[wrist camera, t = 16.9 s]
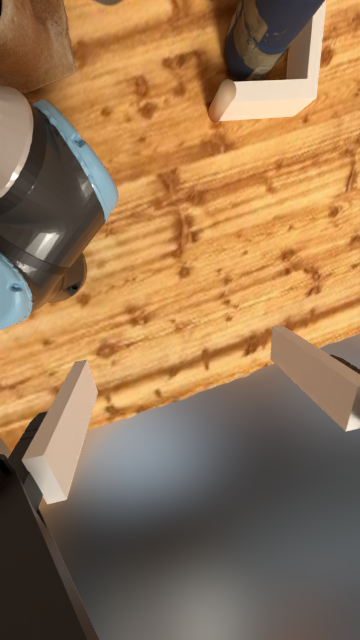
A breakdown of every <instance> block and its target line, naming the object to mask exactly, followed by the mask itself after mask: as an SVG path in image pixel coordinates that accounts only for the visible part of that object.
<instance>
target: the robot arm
mask: <svg viewBox="0 0 360 640" xmlns="http://www.w3.org/2000/svg"><path fill="white" fill-rule="evenodd" d="M117 202H118V190H117V187H116V185H115V183H114V181H113V179H112V177H111V176H110V174H109V172H108V171H107V169H106V168H105V166H104V165H103V163H102V162H101V161H100V159H99V158H98V157H97V155H96V154H95V152H94V151H93V150H92V149H91V147H90V146H89V145H88V144H87V143H86V142H85V141H84V140H83V139H82V137H81V136H80V135H79V133H78V132H77V131H76V129H75V128H74V127H73V125H72V124H71V123H70V122H69V121H68V120H67V119H66V118H65V117H64V116H63V115H62V114H61V113H60V112H59V111H58V110H57V109H56V108H55V107H54V106H53V105H52V104H50V103H49V102H48V101H46V100H43V99H40V100H38V101H37V102H33V104H31V103H30V102H29V101H28V100H27V99H26V98H25V97H24V96H23V95H22V94H21V93H20V92H19V91H18V90H16V89H14V88H12V87H6V86H0V330H1V329H5V328H8V327H10V326H12V325H14V324H17V323H19V322H22V321H23V320H24V319H26V318H27V317H28V316H29V315H30V314H31V313H33V312H34V311H36V310H37V309H39V308H40V307H42V306H43V305H44V304H46V303H54V302H60V301H63V300H66V299H68V298H70V297H72V296H73V295H74V294H76V293H77V292H78V291H79V290H80V289H81V287H82V286H83V284H84V282H85V279H86V275H87V265H86V260H85V257H84V255H83V253H82V251H83V250H84V249H85V248H86V246H87V245H88V244H89V242H90V241H91V240H92V239H93V237H94V236H95V235H96V234H97V232H98V231H99V230H100V228H101V227H102V226H103V225H104V224H106V222H107V221H108V217H109V215H110V214H111V212H112V211H113V209H114V208H115V206H116V205H117ZM270 359H271V360H272V361H273V362H274V363H275V364H276V365H277V366H278V367H279V368H280V369H281V370H282V371H283V372H285V374H287V376H289V377H290V378H291V379H292V380H293V381H294V382H295V383H296V384H297V385H298V386H299V387H300V388H301V389H302V390H303V391H304V392H305V393H306V394H307V395H309V397H310V398H312V399H313V400H314V401H315V402H316V403H317V404H318V405H319V406H320V407H321V408H322V409H323V410H324V411H325V412H326V413H327V414H328V415H329V416H330V417H331V418H332V419H333V420H334V421H336V422H337V423H338V424H339V425H340V426H341V427H342V428H343V429H344V430H345V431H349V430H353V429H358V428H360V369H358V368H357V367H355V366H353V365H351V364H350V363H349V362H347V361H345V360H344V359H342V358H339V357H337V356H334V355H328V354H326V353H325V352H324V351H322V350H320V349H319V348H317V347H316V346H314V345H312V344H311V343H309V342H308V341H306V340H305V339H303V338H301V337H300V336H298V335H297V334H295V333H294V332H292V331H290V330H289V329H287V328H286V327H284V326H282V325H281V326H276V327H272V342H271V358H270ZM97 394H98V392H97V389H96V386H95V382H94V379H93V376H92V373H91V370H90V367H89V364H88V361H87V360H83V361H78V362H75V363H74V365H73V367H72V369H71V370H70V372H69V374H68V376H67V378H66V380H65V381H64V383H63V385H62V387H61V389H60V391H59V392H58V394H57V396H56V398H55V400H54V402H53V403H52V405H51V407H50V409H49V411H47V412H42V413H39V414H38V415H37V416H36V417H35V418H34V419H33V420H32V421H31V422H30V423H29V425H28V427H27V428H26V430H25V433H23V435H22V437H21V438H20V441H18V443H17V445H16V446H15V448H14V450H13V451H12V453H11V455H10V456H9V458H8V459H7V457H6V456H5V455H3V454H0V640H99V638H98V636H97V634H96V631H95V629H94V627H93V625H92V623H91V620H90V618H89V617H88V614H87V612H86V610H85V607H84V605H83V603H82V601H81V599H80V596H79V594H78V592H77V590H76V588H75V585H74V584H73V581H72V579H71V577H70V575H69V572H68V570H67V568H66V566H65V563H64V561H63V559H62V557H61V555H60V552H59V550H58V548H57V546H56V544H55V542H54V539H53V537H52V535H51V533H50V531H49V528H48V526H47V524H46V522H45V520H44V518H43V515H42V513H41V511H40V510H39V508H38V507H39V504H40V502H41V499H42V496H43V497H44V499H45V500H46V502H47V504H50V503H54V502H58V501H62V500H66V499H67V497H68V493H69V490H70V486H71V483H72V480H73V476H74V473H75V469H76V466H77V462H78V459H79V455H80V452H81V449H82V445H83V442H84V438H85V435H86V431H87V428H88V425H89V421H90V418H91V414H92V411H93V408H94V404H95V401H96V397H97Z"/></svg>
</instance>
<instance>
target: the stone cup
mask: <svg viewBox="0 0 360 640" xmlns="http://www.w3.org/2000/svg"><path fill="white" fill-rule="evenodd" d="M68 30H69V29H68V19H67V15H66V11H65V7H64V3H63V0H0V86H6V87H12V88H14V89H16V90H18V91H19V92H20V93H27V92H31V91H34V90H37V89H39V88H41V87H43V86H46V85H49V84H51V83H53V82H55V81H58V80H60V79H62V78H64V77H67V76H69V75H71V74H73V73H74V72H76V66H75V62H74V54H73V51H72V46H71V40H70V37H69V32H68Z"/></svg>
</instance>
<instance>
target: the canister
mask: <svg viewBox="0 0 360 640" xmlns="http://www.w3.org/2000/svg"><path fill="white" fill-rule="evenodd" d="M324 1H325V0H240V1H239V3H238V6H237V8H236V10H235V13H234V15H233V18H232V20H231V23H230V25H229V28H228V31H227V35H226V40H225V57H226V62H227V66H228V68H229V71H230V73H231V74H232V76H233V77H234V78H235V79H236V80H237V81H238V82H242V81H262V80H263V79H264V78H265V77H266V76H267V75H268V73H269V72H270V71H271V69H272V68H273V66H274V65H275V64H276V63H277V62H278V60H279V59H280V58H281V57H282V55H283V54H284V53H285V52H286V50H287V49H288V48H289V47H290V45H291V44H292V43H293V42H294V40H295V39H296V37H297V36H298V35H299V33H300V32H301V31H302V30H303V28H304V27H305V26H306V24H307V23H308V22H309V21H310V19H311V18H312V17H313V15H314V14H315V13H316V12H317V10H318V9H319V8H320V6H321V5H322V4H323V3H324Z"/></svg>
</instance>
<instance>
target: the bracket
mask: <svg viewBox="0 0 360 640" xmlns="http://www.w3.org/2000/svg"><path fill="white" fill-rule="evenodd" d="M325 9H326V0H325V1H324V3H323V4H322V5H321V6H320V8H319V9H318V10H317V12H316V13H315V14H314V15H313V17H312V18H311V19H310V21H309V22H308V23H307V24H306V26H305V27H304V28H303V30H302V31H301V32H300V33H299V35H298V36H297V37H296V39H295V40H294V42H293V43H292V44H291V45H290V47H289V48H288V60H287V77H286V80H266V81H242V82H233V81H232V80H230V79H226V80H224V81H223V82H222V84H221V85H220V87H219V89H218V91H217V93H216V95H215V97H214V99H213V101H212V103H211V105H210V107H209V110H208V115H209V118H210V120H211V121H213V122H218V121H227V120H243V119H260V118H276V117H292V116H295V115H296V114H297V113H298V112H300V111H301V110H302V109H303V108H304V107H306V106H307V105H308V104H309V103H311V102H312V101H313V100H314V99H316V95H317V86H318V76H319V67H320V57H321V47H322V38H323V28H324V18H325Z"/></svg>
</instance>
